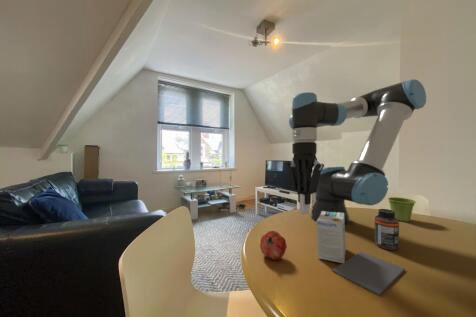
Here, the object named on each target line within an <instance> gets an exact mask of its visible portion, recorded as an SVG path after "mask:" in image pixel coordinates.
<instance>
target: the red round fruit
mask: <svg viewBox="0 0 476 317" xmlns="http://www.w3.org/2000/svg"><path fill="white" fill-rule="evenodd" d="M259 248H260V250H261V253H262V254H263V256H265V257H267V258H269V259H272V260H274V261H275V260H276V261H278V260H280V259H282V258H283V257H284V255H285V253H286V249H287V242H286V239H285V237H284V236H282V235H281V234H280V233H279V232H278V231H274V230H270V231H268V232H266V233H265V234H263V235H262V236H261V238H260V244H259Z"/></svg>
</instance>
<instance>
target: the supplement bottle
mask: <svg viewBox="0 0 476 317" xmlns="http://www.w3.org/2000/svg"><path fill="white" fill-rule="evenodd" d="M394 216H395V212H394V211H392V210H391V209H388V208H379V209H378V214H377V215H376V216H375V217H374V244H375V245H376V246H377V247H379V248H381V249H384V250H387V251H395V250H396V251H397V250H398V249H399V246H400V243H399V242H400V237H399V236H400V222H399V221H400V220H398V219H396V218H395V217H394Z"/></svg>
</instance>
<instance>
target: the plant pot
mask: <svg viewBox="0 0 476 317" xmlns="http://www.w3.org/2000/svg"><path fill="white" fill-rule="evenodd" d="M387 201H388V204H389V207H390V210H392V211H394V212H395V216H394V217H395V218H396V219H398V221H400V222H407V223H408V222H410V221H411V219H412V213H413V209H414V206H415V203H417V202H416V200H414V199H411V198H406V197H399V196H398V197H388V198H387Z"/></svg>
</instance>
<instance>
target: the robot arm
mask: <svg viewBox="0 0 476 317" xmlns="http://www.w3.org/2000/svg"><path fill="white" fill-rule="evenodd" d="M426 102H427V93H426V90H425V87H424V85H423V84H422V83H421V81H419V80H418V79H414V78H413V79H409V80H403V81H402V82H399V83H395V84H392V85H389V86H386V87H381V88H379V89H375V90H372V91H370V92H367V93H364V94H362V95H360V96H356V97H354V98H352V99H351V100H349V101H348V100H347V101H344V102H338V103H336V102H334V103H333V102H322V101H318V96H317V94H316V93H314V92H300V93H297V94H295V95H294V96H293V98H292V105H291V106H292V107H291V112H292V113H291V115H290V117H289V120H288V124H289V127H290V128H291V129H292V141H293V143H292V148H291V149H292V152H291V153H292V154H293V158H292V160H291V161H290V162H287V163H286V166H287V167H288V170H289V176H290V180H291V181H290V182H291V185H292V190H293V191H295V192H296V193H297V202H298V204H299V214H300V215H304V216H305V215H307V214H310V218H311V220H313V221H315V222H317V219H318V217H319V216H320V214H321V211H327V212H339V213H344V219H345V225H347V224H349V223H350V215H349V212H348V210H347V207H346V201H349V202H352V203H356V204H358V205H365V206H375V205H377V204H378V205H379V203H381V202H382V201H383V200H384V199H385V198H386V195H387V193H388V191H389V187H388V186H389V180H388V179H387V177H386V173H385V172H384V169H383V168H384V166H385V164H386V161H387V160H388V158H389V156H390V152H391V151H392V148H393V146H394V145H395V142H396V140H397V137H398V135H399V133H400V131H401V128H402V127H403V124H404V122H405V121H406V120H408V119H410V118H411V117H412V115H413V113H414V111H415V110H420V109H422V108H423V107H425V105H426ZM367 117H377V118H376V120H375V122H374V124H373V126H372V128H371V131H370V133H369V135H368V137H367V139H366V141H365V143H364V146H363V147H362V149H361V150H360V151H361V152H360V153H359V156H358V158H357V160H355V161H351V163H350V165H349V166H348V169H347V170H346V169H345V167H344V166H332V167H331V166H330V167H329V166H327V167H325V164H324V163H320V162H319V161H318V158H317V156H316V155H317V151H318V149H317V148H318V147H317V146H318V144H317V142H316V141H317V140H318V136H317V134H318V133H317V132H318V130H317V128H322V127H326V126H327V127H328V126H329V127H335V126H341V125H343V124H344V122H345V121H346V120H348V119H352V118H354V119H361V118H367ZM312 194H314V195H315V196H314V199H315V201H314V203H313V207H312V210H311V213H310V209H309V208H310V205H311V200H312V199H311V198H312V197H311V196H312Z"/></svg>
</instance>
